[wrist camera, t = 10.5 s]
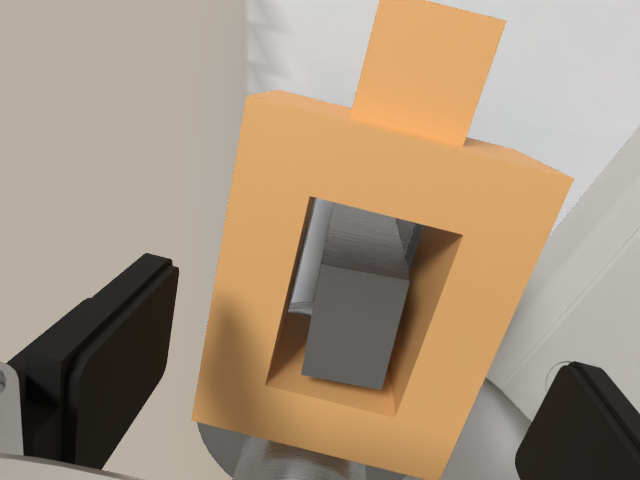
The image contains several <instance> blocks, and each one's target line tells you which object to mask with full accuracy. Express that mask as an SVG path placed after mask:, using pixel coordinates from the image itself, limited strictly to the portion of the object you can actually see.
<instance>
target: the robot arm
mask: <svg viewBox="0 0 640 480" xmlns="http://www.w3.org/2000/svg"><path fill="white" fill-rule="evenodd" d="M178 277H179V268H178V267H175V266H173V265H172V260H171V259H168V258H164V257H160V256H156V255H152V254H149V253H146V254H144V255H143V256H141V257H140V258H139V259H138V260H137V261H135V262H134V263H133V264H132V265H131V266H129V267H128V268H127V269H126V270H124V272H122V273H121V274H120V275H119V276H117V277H116V278H115V279H114V280H112V281H111V282H110V283H109V284H108V285H106V286H105V287H104V288H103V289H101V290H100V291H99V292H98V293H97V294H96V295H94V296H93V297H92V298H87V299H86V300H84V301H82V302H81V303H80V304H79V305H77V306H76V307H75V308H74V309H72V310H71V311H70V312H69V313H68V314H66V315H65V316H64V317H62V318H61V319H60V320H59V321H58V322H56V323H55V324H54V325H53V326H52V327H50V328H49V329H48V330H46V331H45V332H44V333H43V334H42V335H41V336H39V337H38V338H37V339H35V340H34V341H33V342H32V343H30V344H29V345H28V346H27V347H26V348H24V349H23V350H22V351H21V352H19V353H18V354H17V355H16V356H14V357H13V358H12V359H11V360H10V361H8V362H7V363H3V362H0V480H143V479H139V478H135V477H131V476H127V475H123V474H118V473H113V472H109V471H104V470H102V468H103V466H104V465H105V463H106V462H107V460H108V459H109V457H110V456H111V454H112V453H113V451H114V450H115V448H116V447H117V445H118V444H119V442H120V441H121V439H122V438H123V436H124V434H125V433H126V432H127V430H128V429H129V427H130V425H131V424H132V422H133V421H134V419H135V418H136V416H137V415H138V413H139V412H140V410H141V409H142V407H143V405H144V404H145V403H146V401H147V400H148V398H149V397H150V395H151V394H152V392H153V391H154V389H155V387H156V386H157V384H158V383H159V381H160V380H161V378H162V376H163V374H164V371H165V368H166V364H167V357H168V350H169V342H170V334H171V328H172V320H173V313H174V306H175V299H176V292H177V284H178ZM515 466H516V470H517V472H518V475H519V478H520V480H640V413H639V412H638V411H637V410H636V409H635V407H634V406H633V405H632V404H631V402H630V401H629V400H628V399H627V398H626V396H625V395H624V394H623V393H622V392H621V390H620V389H619V388H618V387H617V385H616V384H615V383H614V382H613V381H612V379H611V378H610V377H609V376H608V374H607V373H606V372H605V371H604V370H603V369H602V368H600V367H596V366H592V365H588V364H584V363H580V362H576V361H573V362H571V363H569V364H568V365H564V366H562V367H561V368H560V369H559V370H558V372H557V374H556V376H555V378H554V380H553V382H552V384H551V386H550V388H549V390H548V392H547V394H546V396H545V398H544V400H543V402H542V404H541V406H540V407H539V409H538V411H537V413H536V415H535V417H534V419H533V421H532V423H531V425H530V427H529V429H528V431H527V433H526V435H525V437H524V439H523V441H522V443H521V445H520V446H519V448H518V450H517V453H516V457H515Z"/></svg>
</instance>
